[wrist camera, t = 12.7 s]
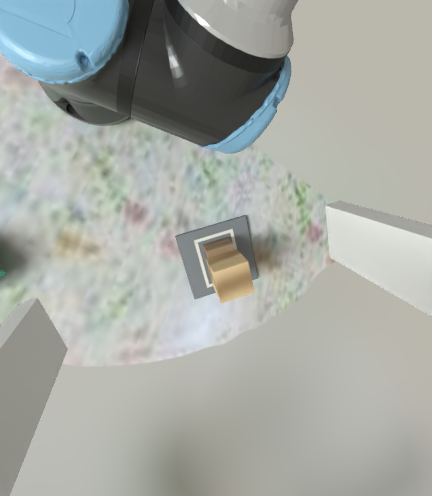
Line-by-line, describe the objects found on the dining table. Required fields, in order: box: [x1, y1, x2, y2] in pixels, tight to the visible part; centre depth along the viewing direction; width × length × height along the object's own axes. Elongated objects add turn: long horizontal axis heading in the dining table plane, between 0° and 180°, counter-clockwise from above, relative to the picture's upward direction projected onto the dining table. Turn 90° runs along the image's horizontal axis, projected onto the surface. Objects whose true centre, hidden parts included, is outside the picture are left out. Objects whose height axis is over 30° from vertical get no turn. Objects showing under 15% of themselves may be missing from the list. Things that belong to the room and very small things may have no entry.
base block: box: [203, 237, 234, 259], centre depth 53 cm, size 8×5×4 cm, turn 13°
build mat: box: [175, 215, 258, 299], centre depth 55 cm, size 14×14×1 cm
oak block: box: [206, 249, 254, 303], centre depth 48 cm, size 6×6×6 cm
